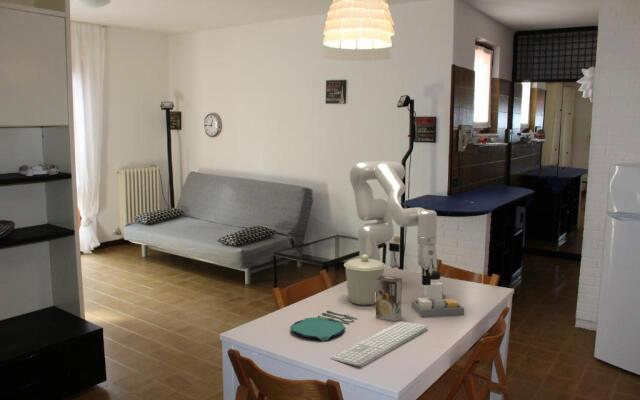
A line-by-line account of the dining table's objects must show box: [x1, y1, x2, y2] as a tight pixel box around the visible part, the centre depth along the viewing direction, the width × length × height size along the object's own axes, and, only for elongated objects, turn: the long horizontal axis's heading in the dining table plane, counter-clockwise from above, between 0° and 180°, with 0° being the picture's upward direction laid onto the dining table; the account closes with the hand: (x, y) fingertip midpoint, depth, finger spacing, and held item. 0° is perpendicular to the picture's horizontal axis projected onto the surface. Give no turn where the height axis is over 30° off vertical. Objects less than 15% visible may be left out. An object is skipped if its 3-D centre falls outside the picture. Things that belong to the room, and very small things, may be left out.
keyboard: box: [330, 320, 428, 368], centre depth 198 cm, size 44×12×2 cm, turn 140°
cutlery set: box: [289, 309, 359, 342], centre depth 213 cm, size 20×30×2 cm, turn 147°
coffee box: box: [375, 275, 403, 322], centre depth 223 cm, size 9×6×16 cm
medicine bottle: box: [423, 269, 444, 300], centre depth 249 cm, size 7×7×12 cm
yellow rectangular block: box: [442, 298, 459, 308], centre depth 231 cm, size 4×6×3 cm
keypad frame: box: [411, 299, 465, 318], centre depth 231 cm, size 18×12×3 cm, turn 99°
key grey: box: [430, 297, 445, 309], centre depth 230 cm, size 4×6×3 cm
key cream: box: [417, 297, 432, 309], centre depth 229 cm, size 4×6×3 cm
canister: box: [343, 254, 387, 306], centre depth 242 cm, size 18×18×21 cm
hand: (426, 284), depth 228 cm, fingers closed
